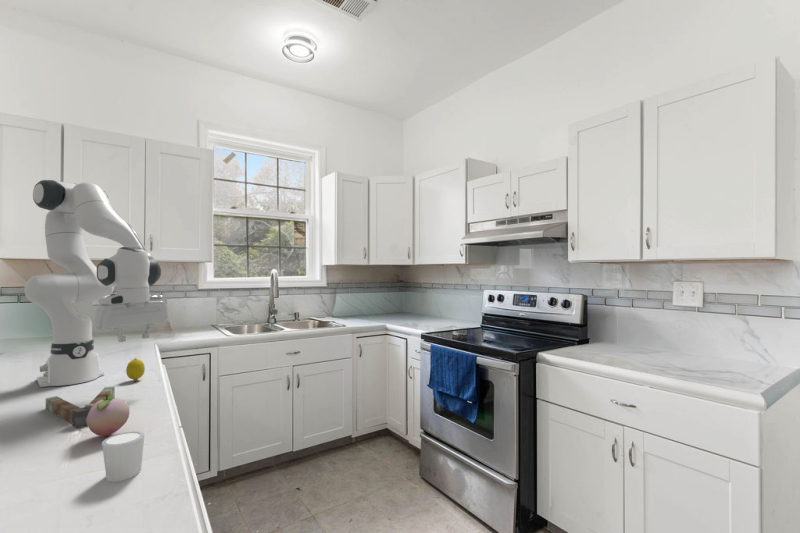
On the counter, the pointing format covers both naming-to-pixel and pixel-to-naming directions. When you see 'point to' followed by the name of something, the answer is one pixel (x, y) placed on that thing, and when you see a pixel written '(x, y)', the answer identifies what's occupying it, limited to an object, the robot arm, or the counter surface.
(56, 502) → the counter surface
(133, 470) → the shot glass
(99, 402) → the decorative fruit
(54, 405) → the tongs base
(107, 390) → the tongs arm
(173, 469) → the counter surface
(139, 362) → the lemon
